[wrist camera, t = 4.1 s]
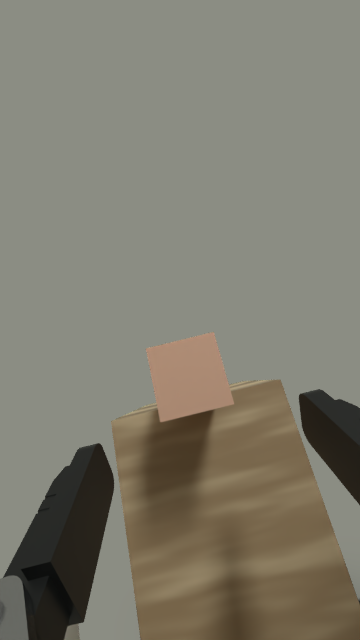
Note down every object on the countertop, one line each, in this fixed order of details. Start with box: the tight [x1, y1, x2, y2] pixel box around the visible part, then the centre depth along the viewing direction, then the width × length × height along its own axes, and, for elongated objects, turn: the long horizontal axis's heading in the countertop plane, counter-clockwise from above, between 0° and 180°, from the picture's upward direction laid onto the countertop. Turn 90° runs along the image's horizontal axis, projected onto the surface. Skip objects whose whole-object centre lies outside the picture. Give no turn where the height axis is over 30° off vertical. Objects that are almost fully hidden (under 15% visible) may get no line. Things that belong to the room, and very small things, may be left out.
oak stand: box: [111, 380, 360, 640], centre depth 20 cm, size 14×14×32 cm
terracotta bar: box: [146, 332, 234, 422], centre depth 21 cm, size 22×4×4 cm, turn 177°
